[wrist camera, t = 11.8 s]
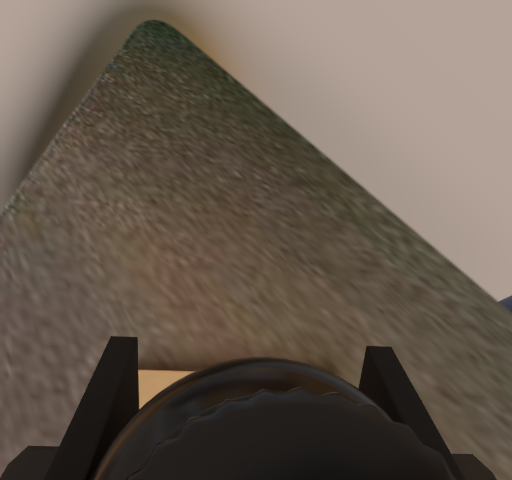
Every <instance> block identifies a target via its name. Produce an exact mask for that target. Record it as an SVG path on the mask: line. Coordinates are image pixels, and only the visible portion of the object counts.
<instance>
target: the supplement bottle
mask: <svg viewBox="0 0 512 480" xmlns="http://www.w3.org/2000/svg"><path fill="white" fill-rule="evenodd" d="M90 480H458V479H457V478H455V477H454V476H453V475H452V473H451V471H450V469H449V467H448V465H447V463H446V461H445V459H444V458H443V456H442V454H441V453H439V452H438V451H436V450H434V449H432V448H430V447H428V446H425V445H423V444H422V443H421V441H420V440H419V438H418V437H417V435H416V434H415V433H414V432H413V430H412V429H411V428H410V427H409V426H408V425H406V424H402V423H399V422H394V421H393V419H392V418H391V417H390V416H389V415H388V414H387V413H386V412H385V411H384V410H383V409H382V408H381V407H380V406H379V405H378V404H377V403H376V402H375V401H373V400H372V399H371V398H370V397H368V396H367V395H366V394H365V393H363V392H362V391H361V390H359V389H358V388H356V387H355V386H353V385H352V384H350V383H349V382H347V381H345V380H344V379H342V378H340V377H338V376H336V375H334V374H332V373H330V372H328V371H325V370H323V369H320V368H318V367H316V366H312V365H309V364H306V363H302V362H298V361H293V360H288V359H282V358H271V357H251V358H242V359H234V360H230V361H225V362H220V363H217V364H214V365H211V366H208V367H205V368H202V369H200V370H197V371H195V372H193V373H190V374H188V375H187V376H185V377H183V378H181V379H179V380H177V381H176V382H174V383H172V384H171V385H169V386H168V387H166V388H165V389H163V390H162V391H160V392H159V393H158V394H157V395H155V396H154V397H153V398H152V399H151V400H149V401H148V402H147V403H146V404H145V405H144V406H142V407H141V408H140V409H139V410H138V411H137V412H136V413H135V414H134V415H133V416H132V417H131V418H130V420H129V421H128V422H127V423H126V424H125V425H124V427H123V428H122V429H121V430H120V431H119V433H118V434H117V435H116V437H115V438H114V440H113V441H112V442H111V444H110V445H109V447H108V448H107V450H106V451H105V453H104V455H103V456H102V458H101V460H100V461H99V463H98V465H97V466H96V468H95V470H94V472H93V475H92V477H91V479H90Z"/></svg>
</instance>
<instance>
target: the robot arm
mask: <svg viewBox="0 0 512 480" xmlns="http://www.w3.org/2000/svg"><path fill="white" fill-rule="evenodd" d="M359 390H361V391H362V392H363V393H365V394H366V395H367V396H368V397H370V398H371V399H372V400H373V401H375V402H376V403H377V404H378V405H379V406H380V407H381V408H382V409H383V410H384V411H385V412H386V413H387V414H388V415H389V416H390V417H391V418H392V419H393V421H394V422H399V423H402V424H406V425H408V426H409V427H410V428H411V429H412V430H413V432H414V433H415V434H416V435H417V437H418V438H419V440H420V441H421V443H422V444H423V445H425V446H428V447H430V448H432V449H434V450H436V451H438V452H439V453H441V454H442V456H443V458H444V459H445V461H446V463H447V465H448V467H449V469H450V471H451V473H452V475H453V476H454V477H455V478H457V479H458V480H497V479H496V478H495V476H494V475H493V473H492V472H491V471H490V470H489V469H488V468H487V467H486V466H484V465H483V464H482V463H481V462H480V461H479V460H478V459H477V458H476V457H475V456H474V455H473V454H451V453H450V451H449V449H448V448H447V446H446V444H445V442H444V441H443V439H442V437H441V435H440V433H439V432H438V430H437V428H436V426H435V424H434V423H433V421H432V419H431V417H430V415H429V414H428V412H427V410H426V408H425V407H424V405H423V403H422V401H421V399H420V398H419V396H418V394H417V392H416V390H415V389H414V387H413V385H412V383H411V382H410V380H409V378H408V376H407V374H406V373H405V371H404V369H403V367H402V365H401V364H400V362H399V360H398V358H397V357H396V355H395V353H394V351H393V349H392V348H391V347H379V346H367V347H366V352H365V358H364V363H363V368H362V373H361V378H360V384H359ZM138 410H139V378H138V340H137V337H117V336H111V338H110V340H109V342H108V344H107V346H106V348H105V350H104V352H103V355H102V357H101V359H100V361H99V363H98V365H97V367H96V370H95V372H94V374H93V376H92V378H91V380H90V382H89V384H88V387H87V389H86V391H85V393H84V395H83V397H82V399H81V401H80V404H79V406H78V408H77V410H76V412H75V414H74V416H73V419H72V421H71V423H70V425H69V427H68V429H67V431H66V433H65V436H64V438H63V440H62V442H61V444H60V446H59V447H51V446H28V447H27V448H26V449H24V450H23V451H22V452H21V453H20V454H19V455H18V456H17V457H16V458H15V459H14V460H13V461H11V462H10V463H9V464H8V466H7V467H6V469H5V471H4V473H3V474H2V476H1V478H0V480H90V479H91V477H92V475H93V472H94V470H95V468H96V466H97V465H98V463H99V461H100V460H101V458H102V456H103V455H104V453H105V451H106V450H107V448H108V447H109V445H110V444H111V442H112V441H113V440H114V438H115V437H116V435H117V434H118V433H119V431H120V430H121V429H122V428H123V427H124V425H125V424H126V423H127V422H128V421H129V420H130V418H131V417H132V416H133V415H134V414H135V413H136V412H137V411H138Z"/></svg>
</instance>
